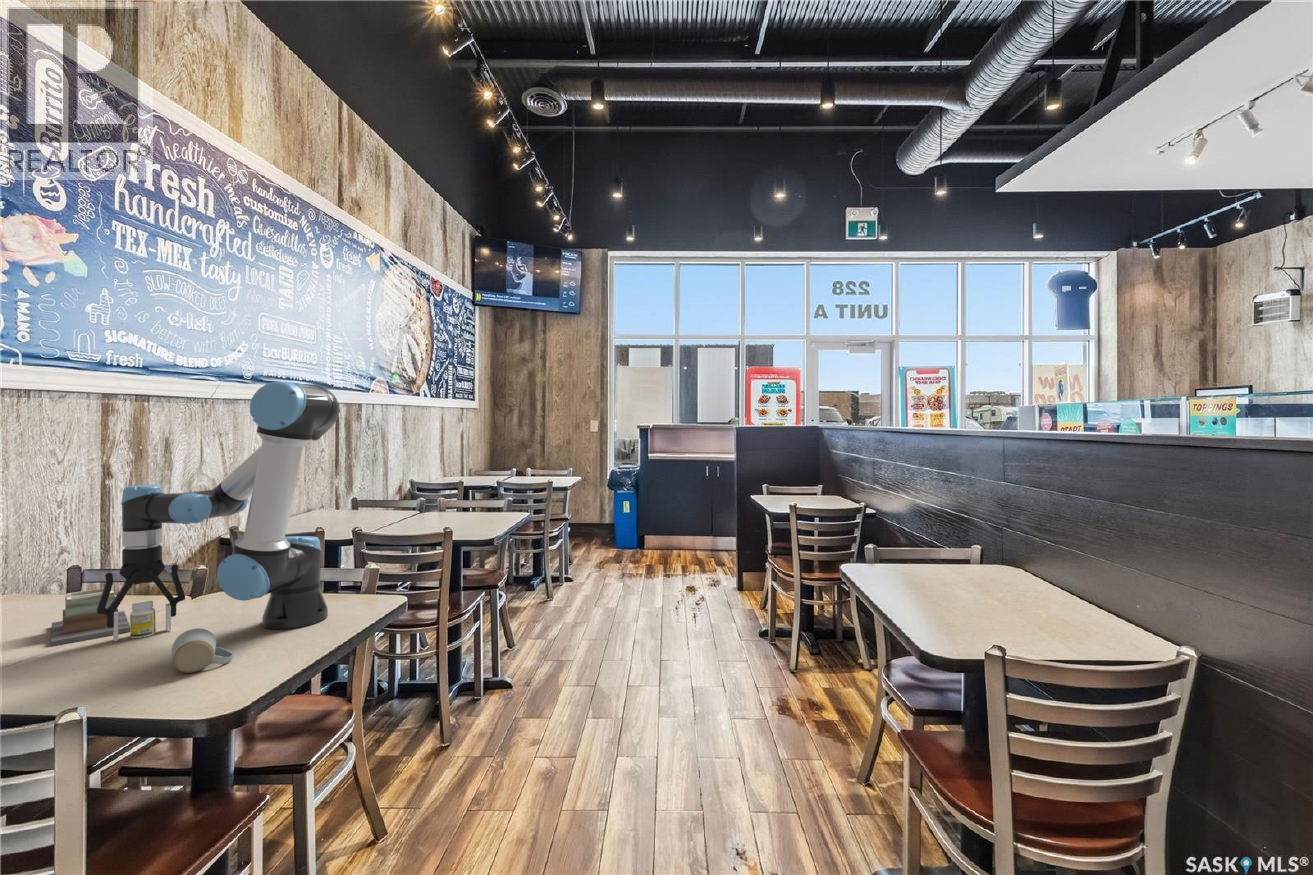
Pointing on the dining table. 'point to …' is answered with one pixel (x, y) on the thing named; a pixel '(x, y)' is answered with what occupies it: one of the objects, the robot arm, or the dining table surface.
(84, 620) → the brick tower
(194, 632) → the ceramic mug
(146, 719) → the dining table surface
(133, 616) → the supplement bottle
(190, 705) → the dining table surface
